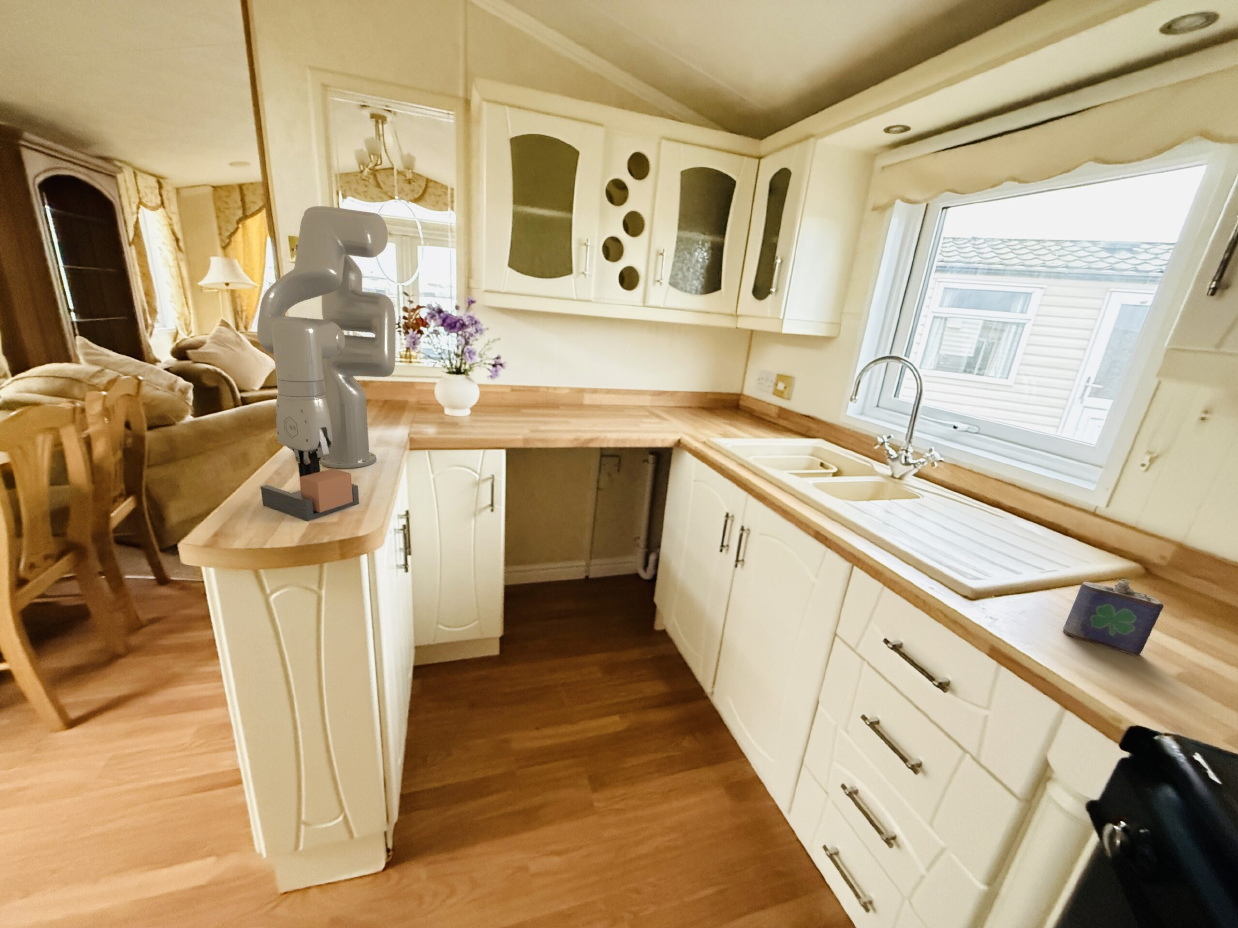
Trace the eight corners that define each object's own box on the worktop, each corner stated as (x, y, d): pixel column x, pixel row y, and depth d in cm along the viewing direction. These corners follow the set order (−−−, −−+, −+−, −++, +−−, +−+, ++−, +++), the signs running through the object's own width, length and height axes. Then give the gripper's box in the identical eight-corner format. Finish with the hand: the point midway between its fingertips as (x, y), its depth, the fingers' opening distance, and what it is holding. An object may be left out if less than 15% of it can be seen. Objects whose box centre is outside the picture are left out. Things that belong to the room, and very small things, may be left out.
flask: (1064, 635, 78) (1088, 574, 75) (1059, 626, 80) (1083, 567, 77) (1143, 659, 73) (1173, 595, 70) (1136, 648, 76) (1164, 587, 73)
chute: (262, 505, 97) (260, 486, 96) (316, 490, 107) (314, 472, 106) (307, 521, 92) (305, 501, 91) (359, 503, 102) (357, 485, 101)
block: (302, 506, 95) (299, 477, 93) (335, 496, 101) (333, 468, 100) (320, 512, 93) (317, 482, 92) (352, 501, 99) (350, 473, 98)
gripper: (255, 385, 92) (266, 478, 97) (309, 396, 86) (318, 494, 92) (295, 382, 99) (303, 469, 104) (347, 392, 93) (354, 484, 98)
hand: (310, 480), depth 98 cm, fingers closed
